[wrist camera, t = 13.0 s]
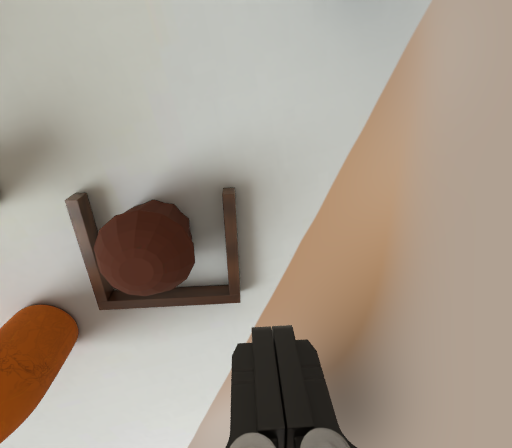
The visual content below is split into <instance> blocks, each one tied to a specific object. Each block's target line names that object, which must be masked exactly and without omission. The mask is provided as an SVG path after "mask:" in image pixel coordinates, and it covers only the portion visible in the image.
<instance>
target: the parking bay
mask: <svg viewBox="0 0 512 448" xmlns="http://www.w3.org/2000/svg"><path fill="white" fill-rule="evenodd" d="M222 196H223V210H224V224H225V238H226V252H227V266H228V280H229V285H217V286H197V287H177V288H174V289H172V290H170V291H166V292H161V293H157V294H153V295H149V296H139V295H129V294H126V293H124V292H122V291H120V290H116V291H114V289H113V287H112V286H111V285H110V283H109V282H108V281H107V280H106V279H105V277H104V276H103V275H102V274H101V273H100V270H99V267H98V264H97V260H96V256H95V252H94V245H95V242H96V239H97V236H98V232H97V228H96V225H95V221H94V218H93V214H92V211H91V207H90V203H89V200H88V196H87V193H75V194H73V195H72V196H70V197H69V198H67V199H66V200H65V203H66V206H67V209H68V212H69V215H70V219H71V222H72V225H73V228H74V231H75V234H76V237H77V241H78V244H79V247H80V250H81V253H82V256H83V259H84V263H85V266H86V269H87V272H88V275H89V278H90V282H91V285H92V288H93V291H94V294H95V297H96V300H97V304H98V307H99V310H110V309H129V308H148V307H167V306H187V305H206V304H225V303H240V278H239V259H238V240H237V221H236V202H235V188H223V194H222Z"/></svg>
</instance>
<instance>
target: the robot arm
mask: <svg viewBox="0 0 512 448" xmlns="http://www.w3.org/2000/svg"><path fill="white" fill-rule="evenodd" d="M226 448H357V447H355V446H354V445H353V444H351V443H350V442H349V441H348V440H347V439H346V437H345V436H344V435H343V434H342V432H341V430H340V428H339V425H338V423H337V419H336V416H335V412H334V409H333V405H332V402H331V399H330V396H329V392H328V388H327V385H326V382H325V379H324V375H323V371H322V368H321V365H320V361H319V358H318V354H317V351H316V350H315V348H314V347H313V346H312V345H311V343H310V342H309V341H308V340H295V336H294V331H293V327H292V325H288V326H273V327H272V329H271V327H253V328H252V343H240V344H238V345H237V347H236V349H235V351H234V353H233V355H232V379H231V425H230V437H229V441H228V444H227V446H226Z"/></svg>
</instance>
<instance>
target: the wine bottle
mask: <svg viewBox="0 0 512 448" xmlns="http://www.w3.org/2000/svg"><path fill="white" fill-rule="evenodd" d="M77 337H78V327H77V324H76V322H75V321H74V319H73V318H72V317H71V316H70V315H69V314H68V313H66V312H65V311H63V310H61V309H59V308H56V307H53V306H49V305H32V306H28V307H26V308H24V309H22V310H20V311H19V312H17V313H16V314H15V315H14V316H13V317H12V318H11V319H10V320H9V321H8V322H7V323H5V324H4V325H3V326H2V327H1V328H0V443H1V442H3V441H4V440H5V439H6V438H7V437H8V436H9V435H10V434H11V433H13V432H14V431H15V430H16V429H17V428H18V427H19V426H20V425H21V424H22V423H23V422H24V421H25V420H26V419H27V418H28V416H29V415H30V414H31V413H32V412H33V410H34V409H35V408H36V407H37V405H38V404H39V402H40V401H41V400H42V398H43V397H44V395H45V393H46V392H47V390H48V389H49V387H50V385H51V384H52V382H53V380H54V379H55V377H56V376H57V374H58V372H59V371H60V369H61V367H62V365H63V364H64V362H65V360H66V359H67V357H68V355H69V353H70V352H71V350H72V348H73V346H74V344H75V342H76V340H77Z"/></svg>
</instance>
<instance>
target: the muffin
mask: <svg viewBox="0 0 512 448" xmlns="http://www.w3.org/2000/svg"><path fill="white" fill-rule="evenodd" d="M94 252H95V256H96V260H97V264H98V267H99V270H100V273H101V274H102V275H103V276H104V277H105V279H106V280H107V281H108V282H109V283H110V285H111V286H112V287H114V288H116V289H118V290H120V291H122V292H124V293H126V294H129V295H139V296H149V295H153V294H157V293H161V292H166V291H170V290H172V289H174V288H175V287H176V286H178V285H179V284H181V283H182V282H183V281H185V280H186V279H187V278H188V276H189V274H190V272H191V270H192V267H193V265H194V263H195V256H194V244H193V242H192V236H191V232H190V228H189V218H187V217H186V216H185V215H184V214H183V213H181V212H180V210H179V209H178V208H177V207H176V206H175V205H174V204H169V203H163V202H160V201H157V200H151V201H149V202H147V203H145V204H142V205H138V206H135V207H133V208H131V209H129V210H128V211H126V212H125V213H123V214H120V215H116V216H114V217H113V218H112V219H111V220H110V221H109V222H108V223H106V224H105V225H104V226H103V227H102V228H101V229H100V230H99V232H98V236H97V239H96V242H95V245H94Z"/></svg>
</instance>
